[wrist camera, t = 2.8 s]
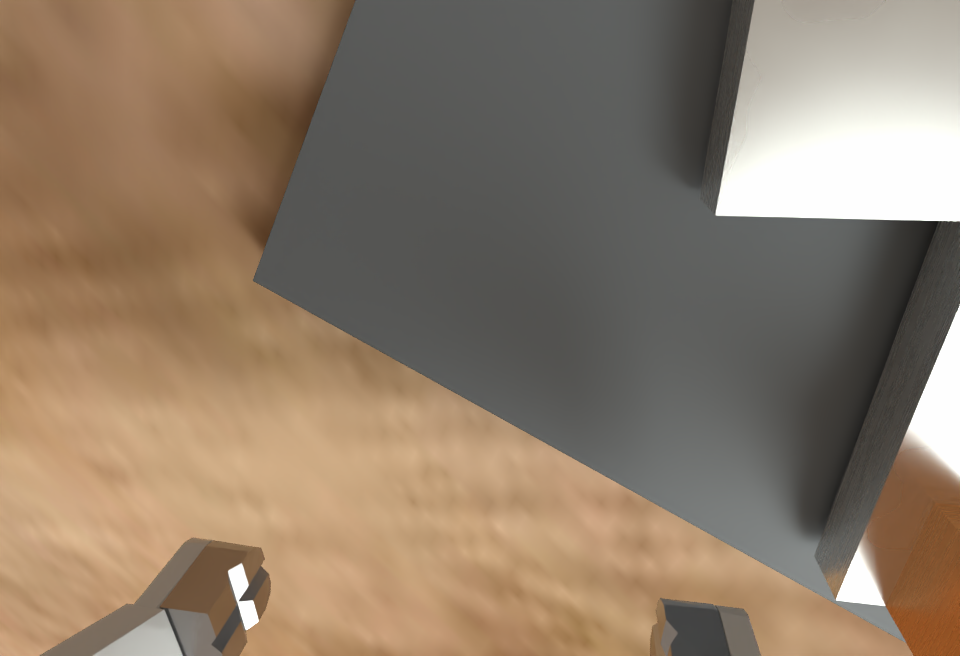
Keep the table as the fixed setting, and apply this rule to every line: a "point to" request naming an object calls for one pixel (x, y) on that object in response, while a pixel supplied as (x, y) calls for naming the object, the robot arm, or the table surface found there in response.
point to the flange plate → (867, 195)
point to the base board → (594, 258)
